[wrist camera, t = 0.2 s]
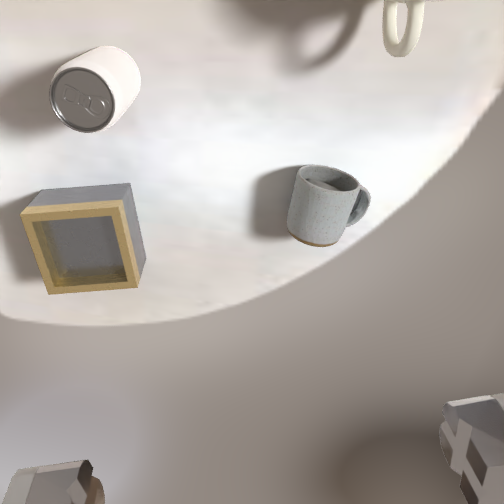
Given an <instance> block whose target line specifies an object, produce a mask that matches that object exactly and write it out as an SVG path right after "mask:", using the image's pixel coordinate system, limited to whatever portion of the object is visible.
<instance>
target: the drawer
mask: <svg viewBox="0 0 504 504" xmlns="http://www.w3.org/2000/svg"><path fill="white" fill-rule="evenodd" d="M20 217H21V220H22V222H23V225H24V228H25V231H26V234H27V236H28V239H29V242H30V245H31V247H32V250H33V253H34V256H35V259H36V261H37V264H38V267H39V270H40V272H41V275H42V278H43V281H44V284H45V286H46V289H47V292H48V295H50V294H63V293H76V292H89V291H101V290H114V289H127V288H138V284H139V281H140V278H141V274H142V271H143V267H144V264H145V261H146V255H145V250H144V246H143V241H142V236H141V232H140V227H139V222H138V217H137V213H136V208H135V203H134V199H133V194H132V189H131V185H130V183H125V184H112V185H99V186H86V187H73V188H60V189H47V190H41V191H40V192H39V194H38V195H37V196H36V197H35V198H34V199H33V200H32V201H31V202H30V204H29V205H28V206H27V207H26V208H25V209H24V210H23V211H22V212H21V214H20Z"/></svg>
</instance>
